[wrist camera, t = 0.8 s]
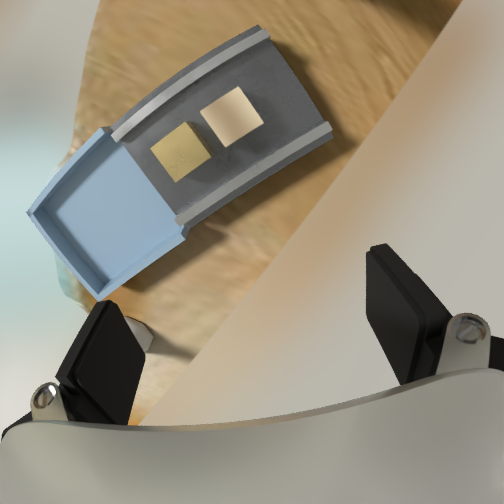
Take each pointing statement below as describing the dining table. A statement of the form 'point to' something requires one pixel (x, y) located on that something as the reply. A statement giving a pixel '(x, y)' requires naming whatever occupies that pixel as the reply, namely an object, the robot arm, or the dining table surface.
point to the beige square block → (231, 116)
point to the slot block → (224, 159)
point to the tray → (105, 216)
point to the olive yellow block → (182, 150)
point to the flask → (140, 333)
